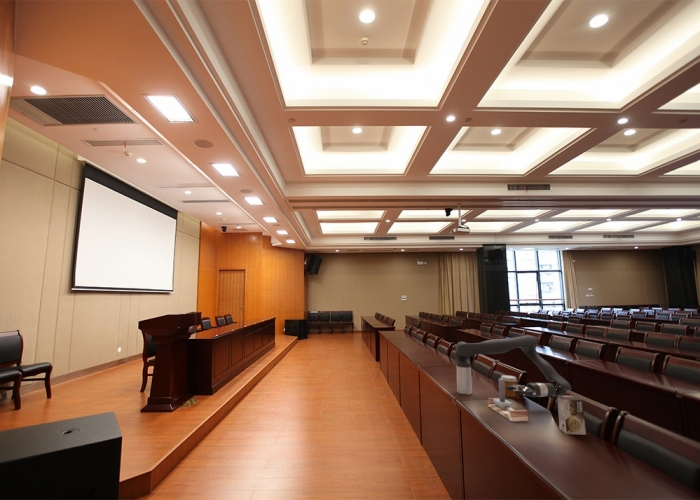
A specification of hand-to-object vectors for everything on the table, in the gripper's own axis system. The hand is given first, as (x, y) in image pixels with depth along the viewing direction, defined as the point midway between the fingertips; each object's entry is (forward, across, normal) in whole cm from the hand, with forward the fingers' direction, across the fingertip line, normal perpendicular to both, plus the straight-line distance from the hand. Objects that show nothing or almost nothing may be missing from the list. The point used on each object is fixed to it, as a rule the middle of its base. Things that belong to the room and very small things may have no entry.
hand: (511, 390), depth 186 cm
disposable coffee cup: (-16, -27, +11) cm, 33 cm away
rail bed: (+6, +4, +11) cm, 13 cm away
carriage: (+6, 0, +9) cm, 11 cm away
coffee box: (-11, +30, +11) cm, 34 cm away
